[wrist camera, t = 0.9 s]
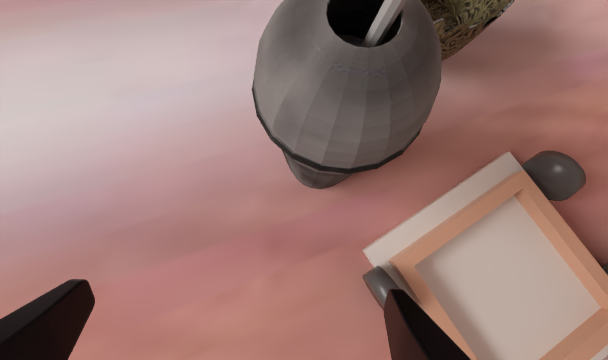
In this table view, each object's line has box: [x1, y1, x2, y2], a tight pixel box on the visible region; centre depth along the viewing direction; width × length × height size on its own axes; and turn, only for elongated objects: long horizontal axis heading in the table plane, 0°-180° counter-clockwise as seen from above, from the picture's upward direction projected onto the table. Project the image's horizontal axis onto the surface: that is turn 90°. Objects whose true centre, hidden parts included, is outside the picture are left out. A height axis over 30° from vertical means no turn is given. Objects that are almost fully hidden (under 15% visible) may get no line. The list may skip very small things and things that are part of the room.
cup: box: [420, 0, 515, 61], centre depth 21 cm, size 8×7×8 cm
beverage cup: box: [252, 0, 441, 189], centre depth 13 cm, size 7×7×20 cm
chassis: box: [362, 151, 608, 360], centre depth 20 cm, size 15×16×4 cm
